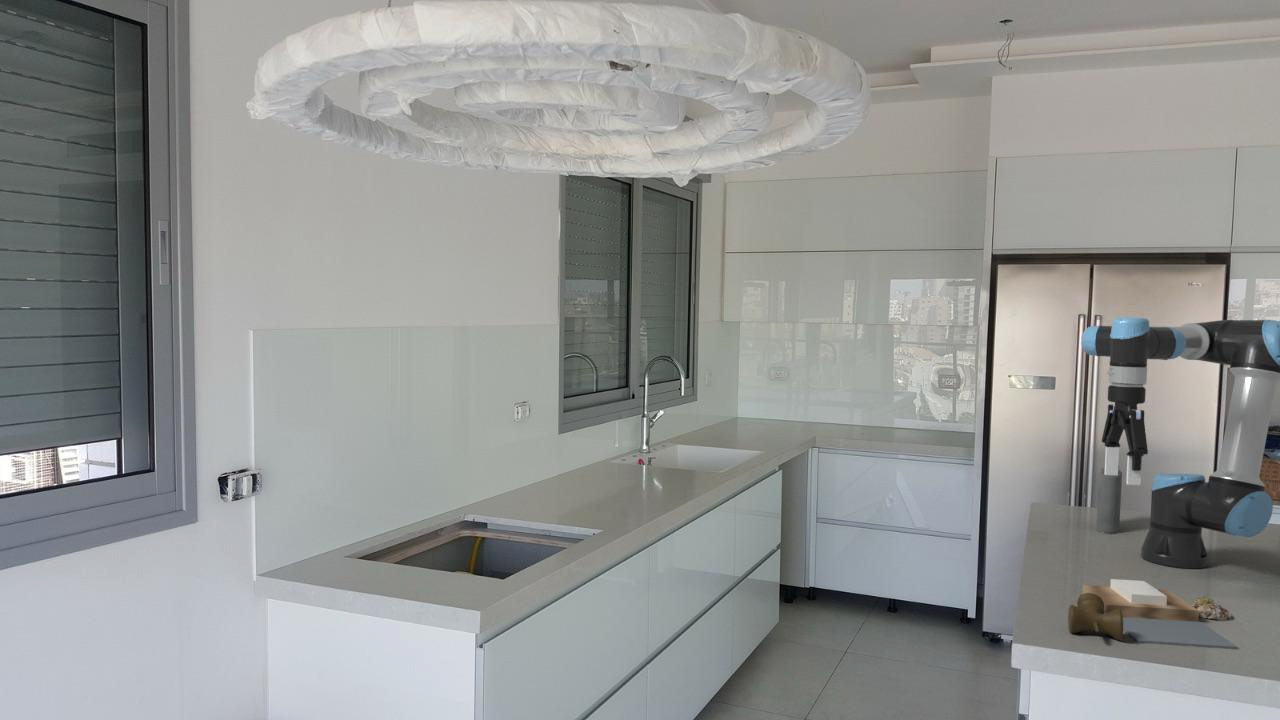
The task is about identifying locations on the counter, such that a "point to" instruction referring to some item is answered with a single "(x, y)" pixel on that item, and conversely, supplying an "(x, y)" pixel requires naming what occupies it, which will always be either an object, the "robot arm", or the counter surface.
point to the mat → (1174, 632)
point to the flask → (1109, 502)
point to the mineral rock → (1211, 609)
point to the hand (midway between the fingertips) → (1121, 479)
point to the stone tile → (1138, 592)
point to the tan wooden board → (1145, 605)
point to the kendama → (1094, 617)
